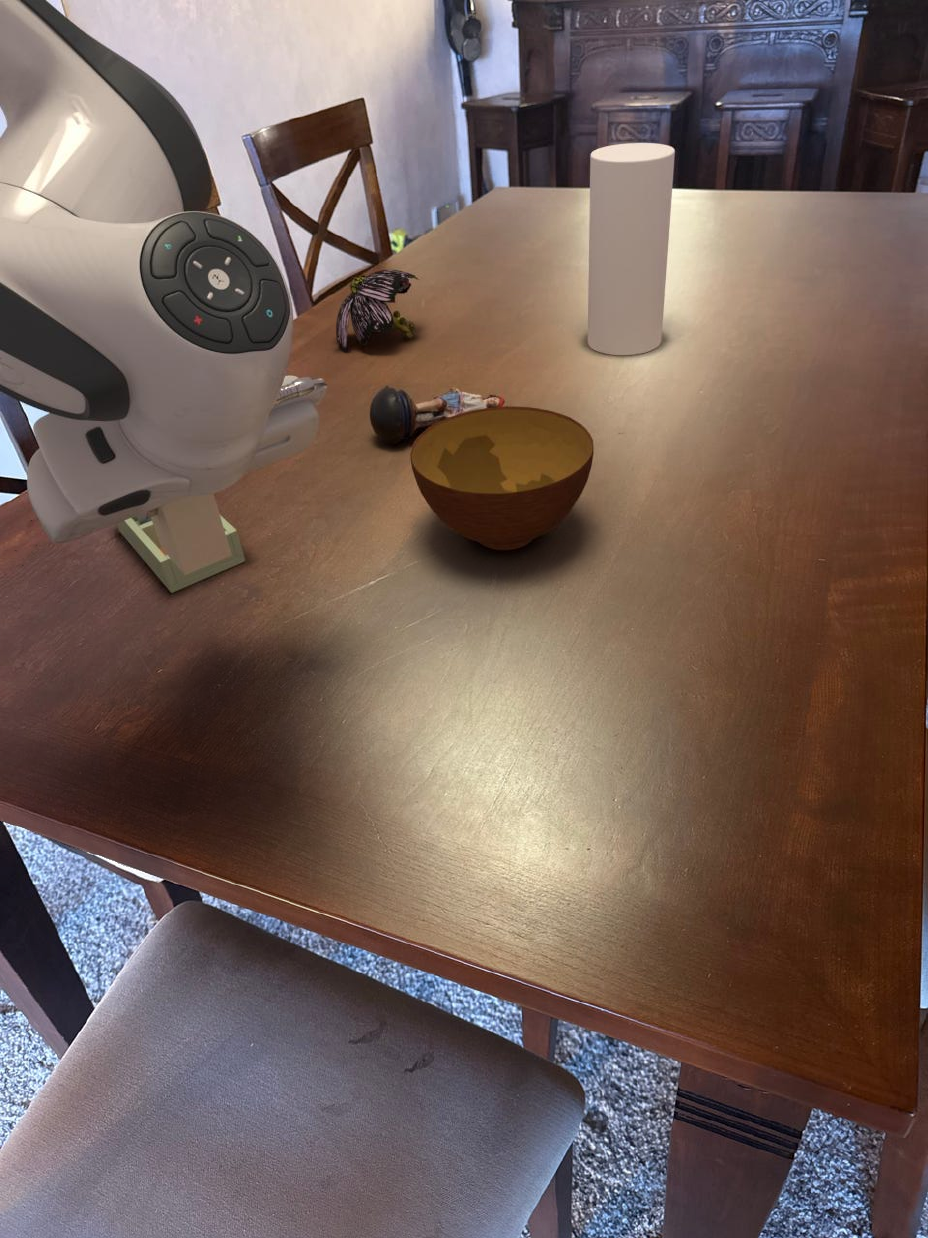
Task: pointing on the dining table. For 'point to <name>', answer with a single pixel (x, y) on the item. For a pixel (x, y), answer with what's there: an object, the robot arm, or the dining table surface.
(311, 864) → the dining table surface
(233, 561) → the holder
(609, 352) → the tall pillar cylinder
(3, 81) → the robot arm
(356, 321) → the decorative flower
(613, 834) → the dining table surface
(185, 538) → the beige rectangular block
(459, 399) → the figurine
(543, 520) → the bowl
